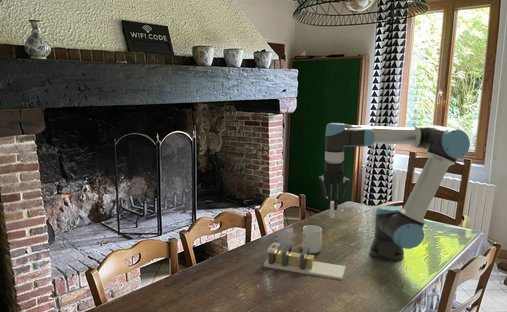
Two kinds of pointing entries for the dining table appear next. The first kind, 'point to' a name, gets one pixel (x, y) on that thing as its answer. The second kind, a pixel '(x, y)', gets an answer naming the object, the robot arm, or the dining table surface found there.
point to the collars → (288, 248)
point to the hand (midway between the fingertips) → (332, 217)
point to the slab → (313, 269)
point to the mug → (312, 238)
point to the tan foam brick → (293, 258)
